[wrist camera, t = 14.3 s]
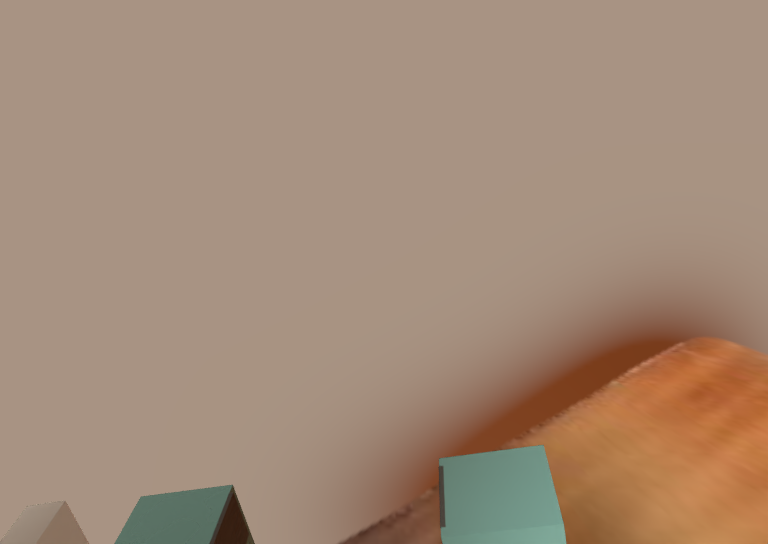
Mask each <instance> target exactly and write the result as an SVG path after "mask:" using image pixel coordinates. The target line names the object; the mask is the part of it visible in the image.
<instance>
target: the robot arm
mask: <svg viewBox="0 0 768 544" xmlns="http://www.w3.org/2000/svg"><path fill="white" fill-rule="evenodd" d="M0 544H89V543H88V541H87V539H86V537H85V536H84V534H83V532H82V530H81V528H80V526H79V525H78V523H77V521H76V519H75V518H74V515H73V514H72V512H71V510H70V508H69V506H68V504H67V503H66V501H59V502H52V503H45V504H38V505H32V506H27V507H26V508H25V510H24V511H23V512H22V514H21V515H20V516H19V518H18V519H17V520H16V522H15V523H14V524H13V525H12V527H11V528H10V530H9V531H8V532H7V533H6V535H5V536H4V538H3V539H2V540H1V542H0Z"/></svg>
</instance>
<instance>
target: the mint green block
mask: <svg viewBox="0 0 768 544" xmlns="http://www.w3.org/2000/svg"><path fill="white" fill-rule="evenodd" d="M439 495H440V528H441V539H442V543H443V544H566V537H565V530H564V523H563V519H562V515H561V511H560V508H559V504H558V500H557V496H556V492H555V488H554V484H553V480H552V476H551V472H550V469H549V465H548V461H547V457H546V453H545V449H544V445H538V446H531V447H523V448H515V449H508V450H500V451H492V452H484V453H477V454H469V455H461V456H455V457H446V458H440V459H439Z"/></svg>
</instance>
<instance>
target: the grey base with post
mask: <svg viewBox="0 0 768 544" xmlns="http://www.w3.org/2000/svg"><path fill="white" fill-rule="evenodd" d="M115 544H255V543H254V541H253V538H252V535H251V533H250V530H249V527H248V525H247V522H246V519H245V517H244V514H243V511H242V509H241V506H240V503H239V501H238V498H237V495H236V493H235V490H234V487H233V485H227V486H220V487H212V488H205V489H197V490H189V491H181V492H174V493H165V494H158V495H150V496H143V497H141V498H140V499H139V501H138V503H137V504H136V506H135V508H134V510H133V512H132V513H131V515H130V517H129V519H128V521H127V522H126V524H125V526H124V528H123V529H122V532H121V533H120V535H119V537H118V538H117V540H116V542H115Z"/></svg>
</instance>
